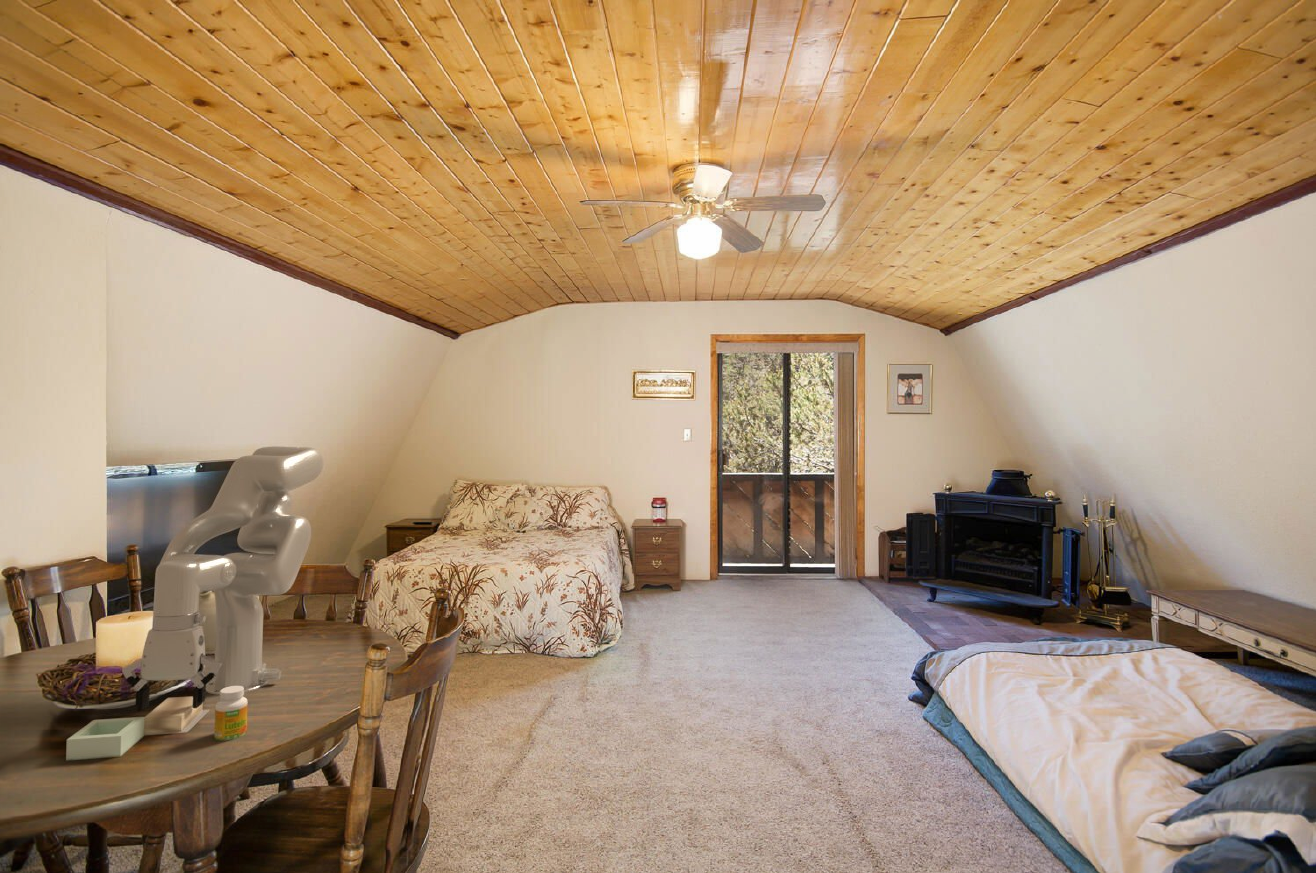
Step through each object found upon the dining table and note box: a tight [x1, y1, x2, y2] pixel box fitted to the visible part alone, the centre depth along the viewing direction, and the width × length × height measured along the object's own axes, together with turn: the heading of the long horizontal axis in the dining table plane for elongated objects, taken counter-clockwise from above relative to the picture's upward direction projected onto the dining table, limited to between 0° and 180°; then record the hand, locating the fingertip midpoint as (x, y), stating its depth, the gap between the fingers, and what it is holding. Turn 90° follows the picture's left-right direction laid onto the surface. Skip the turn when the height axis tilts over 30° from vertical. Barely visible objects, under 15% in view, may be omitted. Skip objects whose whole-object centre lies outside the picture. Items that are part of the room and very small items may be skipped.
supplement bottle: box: [213, 686, 249, 742], centre depth 132 cm, size 5×5×10 cm
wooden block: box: [143, 695, 204, 734], centre depth 136 cm, size 6×10×3 cm, turn 14°
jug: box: [198, 591, 216, 656], centre depth 184 cm, size 15×16×25 cm
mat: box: [144, 709, 210, 736], centre depth 136 cm, size 9×11×1 cm
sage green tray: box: [65, 716, 145, 761], centre depth 125 cm, size 8×8×4 cm
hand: (170, 707), depth 135 cm, fingers open, 9 cm apart
